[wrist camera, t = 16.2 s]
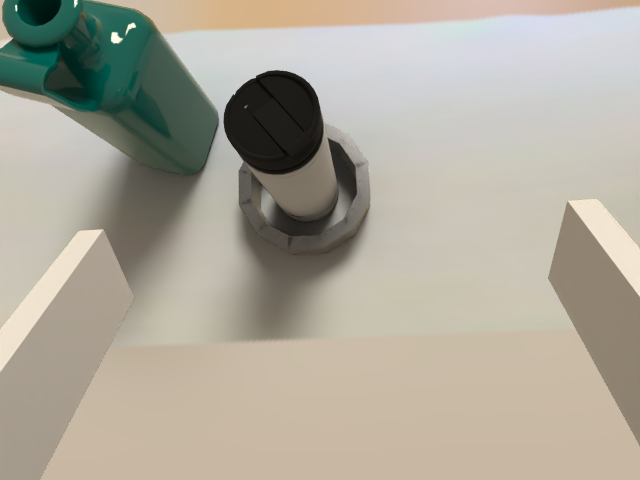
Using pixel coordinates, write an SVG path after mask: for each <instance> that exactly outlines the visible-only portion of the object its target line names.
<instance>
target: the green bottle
mask: <svg viewBox="0 0 640 480" xmlns="http://www.w3.org/2000/svg"><path fill="white" fill-rule="evenodd" d="M2 19H3V23H4V25H5V27H6V29H7V32H8V34H9V35H10V36H11V37H12V38H13V39H12V40H11V41H10V42H9V43H7V44H6V45H5V46H4V47H3V48H1V49H0V90H1V91H4V92H6V93H8V94H11V95H14V96H17V97H21V98H25V99H29V100H33V101H38V102H42V103H46V104H50V105H52V106H53V107H55V108H56V109H58V110H59V111H61V112H62V113H64V114H65V115H67V116H68V117H70V118H72V119H73V120H75V121H76V122H78V123H79V124H81V125H82V126H84V127H85V128H87V129H88V130H90V131H91V132H93V133H94V134H96V135H97V136H99V137H100V138H102V139H103V140H105V141H106V142H108V143H109V144H111V145H112V146H114V147H115V148H117V149H119V150H120V151H122V152H123V153H125V154H126V155H128V156H129V157H131V158H132V159H134V160H135V161H137V162H138V163H140V164H142V165H146V166H150V167H154V168H157V169H161V170H165V171H169V172H173V173H177V174H181V175H190V174H194V173H195V172H197V171H199V170H200V169H201V168H202V167H203V165H204V164H205V161H206V158H207V155H208V151H209V148H210V145H211V142H212V139H213V136H214V132H215V129H216V126H217V123H218V120H219V119H218V111H217V110H216V108H215V106H214V105H213V103H212V102H211V100H210V99H209V98H208V96H207V95H206V94H205V92H204V91H203V90H202V88H201V87H200V85H199V84H198V83H197V81H196V80H195V79H194V77H193V76H192V74H191V73H190V72H189V70H188V69H187V68H186V66H185V65H184V63H183V62H182V61H181V59H180V58H179V57H178V55H177V54H176V53H175V51H174V50H173V48H172V47H171V46H170V44H169V43H168V42H167V40H166V39H165V37H164V36H163V35H162V33H161V32H160V31H159V29H158V28H157V27H156V25H155V24H154V22H153V21H152V20H151V19H150V18H149V17H147V16H146V15H144V14H143V13H142V12H140V11H138V10H136V9H131V8H127V7H122V6H117V5H112V4H107V3H102V2H97V1H93V0H5V1H4V3H3V6H2Z"/></svg>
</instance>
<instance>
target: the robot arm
mask: <svg viewBox="0 0 640 480" xmlns="http://www.w3.org/2000/svg"><path fill="white" fill-rule="evenodd" d="M548 279H549V281H550V282H551V284H552V286H553V288H554V290H555V292H556V293H557V295H558V297H559V299H560V301H561V303H562V304H563V306H564V308H565V310H566V312H567V314H568V315H569V317H570V319H571V321H572V323H573V325H574V326H575V328H576V330H577V332H578V334H579V335H580V337H581V339H582V341H583V343H584V344H585V346H586V348H587V350H588V352H589V354H590V355H591V357H592V359H593V361H594V363H595V365H596V367H597V368H598V370H599V372H600V374H601V376H602V378H603V379H604V381H605V383H606V385H607V386H608V388H609V390H610V392H611V394H612V396H613V398H614V399H615V401H616V403H617V405H618V407H619V409H620V410H621V412H622V414H623V416H624V417H625V420H626V421H627V423H628V425H629V427H630V428H631V430H632V432H633V434H634V436H635V438H636V440H637V441H638V443H639V445H640V248H639V247H638V246H637V245H636V244H635V242H634V241H633V240H632V239H631V238H630V237H629V235H628V234H627V233H626V232H625V231H624V230H623V228H622V227H621V226H620V225H619V224H618V223H617V221H616V220H615V219H614V218H613V217H612V216H611V214H610V213H609V212H608V211H607V210H606V209H605V207H604V206H603V205H602V204H601V203H600V202H599V200H598V199H589V200H572V201H567V205H566V209H565V213H564V217H563V221H562V225H561V229H560V233H559V237H558V241H557V245H556V249H555V253H554V257H553V261H552V265H551V269H550V273H549V277H548ZM133 300H134V296H133V294H132V291H131V289H130V287H129V285H128V282H127V280H126V278H125V276H124V274H123V271H122V269H121V267H120V265H119V263H118V260H117V258H116V256H115V254H114V251H113V249H112V247H111V245H110V243H109V240H108V238H107V236H106V234H105V231H104V229H101V230H84V231H78V233H77V234H76V235H75V236H74V238H73V239H72V240H71V241H70V243H69V244H68V245H67V246H66V248H65V249H64V250H63V251H62V253H61V254H60V255H59V256H58V258H57V259H56V260H55V261H54V263H53V264H52V265H51V267H50V268H49V269H48V270H47V272H46V273H45V274H44V275H43V277H42V278H41V279H40V280H39V282H38V283H37V284H36V285H35V287H34V288H33V289H32V290H31V292H30V293H29V294H28V296H27V297H26V298H25V299H24V301H23V302H22V303H21V304H20V306H19V307H18V308H17V309H16V311H15V312H14V313H13V314H12V316H11V317H10V318H9V319H8V321H7V322H6V323H5V324H4V326H3V327H2V328H1V330H0V480H40V479H41V477H42V475H43V473H44V471H45V469H46V467H47V465H48V463H49V461H50V459H51V457H52V456H53V454H54V452H55V450H56V448H57V446H58V444H59V442H60V440H61V438H62V436H63V434H64V432H65V431H66V428H67V427H68V425H69V422H70V421H71V419H72V417H73V415H74V413H75V411H76V409H77V407H78V406H79V404H80V402H81V400H82V398H83V396H84V394H85V392H86V390H87V388H88V386H89V384H90V382H91V381H92V379H93V377H94V375H95V373H96V371H97V369H98V367H99V365H100V363H101V361H102V359H103V357H104V355H105V354H106V352H107V350H108V348H109V346H110V344H111V342H112V340H113V338H114V336H115V334H116V332H117V331H118V329H119V327H120V325H121V323H122V321H123V319H124V317H125V315H126V313H127V311H128V309H129V307H130V306H131V304H132V302H133Z"/></svg>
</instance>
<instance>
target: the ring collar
mask: <svg viewBox="0 0 640 480" xmlns="http://www.w3.org/2000/svg"><path fill="white" fill-rule="evenodd" d="M324 124H325V129H326V134H327V138H328V143H329V148H330V152H332V153H334V154H336V155H338V156H340V157H342V158H343V159H344V161H345V162H346V164H347V165H348V167H349V168H350V170H351V171H352V173H353V174H354V176H355V177H356V184H357V195H356V197H355V199H354V201H353V203H352V205H351V206H350V208H349V210H348V212H347V214H346V216H345V218H344V219H343V220H342V221H340V222H339V223H337V224H336V225H334V226H333V227H331V228H329V229H328V230H326V231H325V232H323V233H322V234H320V235H308V236H289V235H287V234H285V233H283V232H281V231H279V230H277V229H275V228H273V227H271V225H270V224H269V222H268V220H267V219H266V217H265V216H264V214H263V213H262V211H261V196H260V184H261V182H260V181H259V180H258V178H257V177H256V176H255V175H254V173H253V172H252V171H251V170H250V168H249V167H248V166H247V165H246V163H245V162H243V164H242V166H241V168H240V170H239V205H240V207H241V209H242V210H243V212H244V213H245V215H246V217H247V218H248V220H249V221H250V223H251V225H252V226H253V228H254V230H255V231H256V233H257V234H258V235H260V236H261V237H262V238H264V239H265V240H267V241H269V242H271V243H273V244H275V245H276V246H278V247H280V248H282V249H284V250H286V251H288V252H290V253H292V254H294V255H298V254H316V253H328V252H329V251H331V250H332V249H334V248H335V247H337V246H339V245H340V244H342V243H343V242H345V241H346V240H348V239H349V238H351V237H353V236H354V235H355V234H356V232H357V230H358V228H359V226H360V224H361V222H362V220H363V218H364V216H365V214H366V212H367V210H368V208H369V207H370V185H369V168H368V161H367V160H366V158H365V157H364V155H363V154H362V152H361V151H360V150H359V148H358V147H357V145H356V144H355V142H354V141H353V139H352V138H351V137H350V135H349V134H347V133H345V132H343V131H341V130H339V129H337V128H334V127H332V126H330V125H328V124H326V123H324Z"/></svg>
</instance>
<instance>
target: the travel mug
mask: <svg viewBox="0 0 640 480" xmlns="http://www.w3.org/2000/svg"><path fill="white" fill-rule="evenodd" d="M224 128H225V132H226V135H227V138H228V140H229V141H230V143H231V144H232V146H233V147H234V148H235V150H236V151H237V152H238V154H239V155H240V157H241V158H242V160H243V161H244V162H245V163H246V165H247V166H248V167H249V168H250V170H251V171H252V172H253V173H254V175H255V176H256V177H257V178H258V180H259V181H260V182H261V183H262V185H263V186H264V187H265V188H266V190H267V191H268V192H269V193H270V195H271V196H272V197H273V198H274V200H275V201H276V202H277V203H278V205H279V206H280V207H281V208H282V210H283V211H284V212H285V213H286V214H287V215H288V216H289V217H291V218H292V219H294V220H296V221H299V222H305V223H307V222H315V221H318V220H321V219H323V218H324V217H326V216H327V215H328V214H329V213H330V212H331V211H332V210H333V208H334V207H335V205H336V202H337V199H338V185H337V181H336V176H335V171H334V167H333V162H332V157H331V152H330V148H329V143H328V138H327V134H326V129H325V124H324V120H323V116H322V114H321V110H320V105H319V101H318V97H317V95H316V93H315V91H314V89H313V88H312V86H311V85H310V84H309V83H308V82H307V81H306V80H305V79H303V78H302V77H300V76H298V75H296V74H294V73H291V72H287V71H278V70H276V71H267V72H265V73H262V74H260V75H257V76H256V78H254V79H251V80H249V81H248V82H246V83H245V84H243V85H242V86H241V87H240V88H239V89H238V90H237V91H236V94H235V95H234V94H233V96H232V97H231V99H230V100H229V102H228V103H227V105H226V109H225V112H224Z"/></svg>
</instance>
